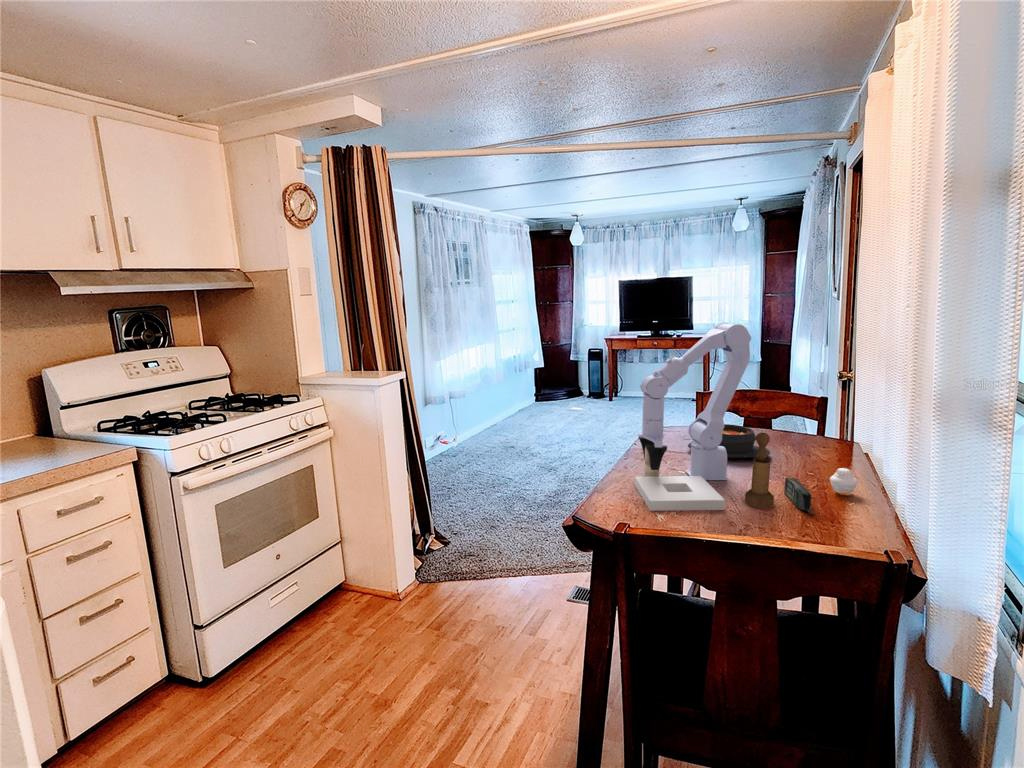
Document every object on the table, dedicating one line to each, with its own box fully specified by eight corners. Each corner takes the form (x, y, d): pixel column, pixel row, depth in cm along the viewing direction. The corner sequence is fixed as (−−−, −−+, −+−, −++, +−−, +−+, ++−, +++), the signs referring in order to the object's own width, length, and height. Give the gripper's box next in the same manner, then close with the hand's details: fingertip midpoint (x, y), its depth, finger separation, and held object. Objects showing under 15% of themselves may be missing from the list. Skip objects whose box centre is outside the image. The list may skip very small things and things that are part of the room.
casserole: (772, 451, 183) (773, 426, 182) (767, 467, 167) (768, 440, 165) (693, 443, 195) (694, 419, 194) (682, 456, 179) (682, 431, 178)
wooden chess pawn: (771, 510, 134) (775, 437, 131) (742, 505, 137) (746, 434, 135) (775, 501, 140) (779, 431, 137) (747, 496, 143) (751, 428, 140)
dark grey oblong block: (783, 475, 145) (804, 494, 130) (795, 476, 144) (818, 495, 130) (782, 494, 145) (803, 515, 131) (794, 494, 145) (816, 515, 130)
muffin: (842, 499, 140) (844, 472, 139) (823, 491, 146) (825, 465, 145) (862, 496, 142) (864, 470, 141) (842, 488, 148) (844, 463, 147)
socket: (700, 484, 152) (700, 475, 152) (724, 509, 135) (724, 500, 134) (634, 485, 153) (635, 476, 152) (649, 510, 135) (650, 500, 135)
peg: (656, 475, 161) (657, 445, 159) (660, 480, 157) (661, 449, 155) (643, 476, 161) (643, 445, 159) (646, 480, 157) (646, 449, 155)
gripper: (633, 413, 163) (632, 458, 165) (644, 424, 149) (643, 473, 151) (657, 413, 163) (656, 457, 165) (670, 424, 149) (669, 473, 151)
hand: (651, 465), depth 158 cm, fingers open, 7 cm apart
